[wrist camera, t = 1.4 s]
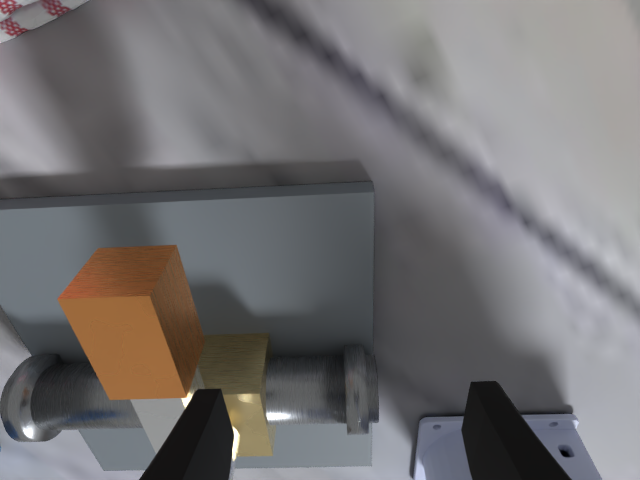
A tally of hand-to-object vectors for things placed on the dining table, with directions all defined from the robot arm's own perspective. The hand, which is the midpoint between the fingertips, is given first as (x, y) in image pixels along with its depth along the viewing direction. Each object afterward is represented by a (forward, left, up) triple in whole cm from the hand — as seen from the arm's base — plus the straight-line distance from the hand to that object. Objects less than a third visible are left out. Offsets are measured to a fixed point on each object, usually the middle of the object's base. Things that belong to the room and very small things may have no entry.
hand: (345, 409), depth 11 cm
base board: (+8, +8, -9) cm, 14 cm away
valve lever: (+7, +4, -4) cm, 9 cm away
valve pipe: (+8, +8, -9) cm, 14 cm away
